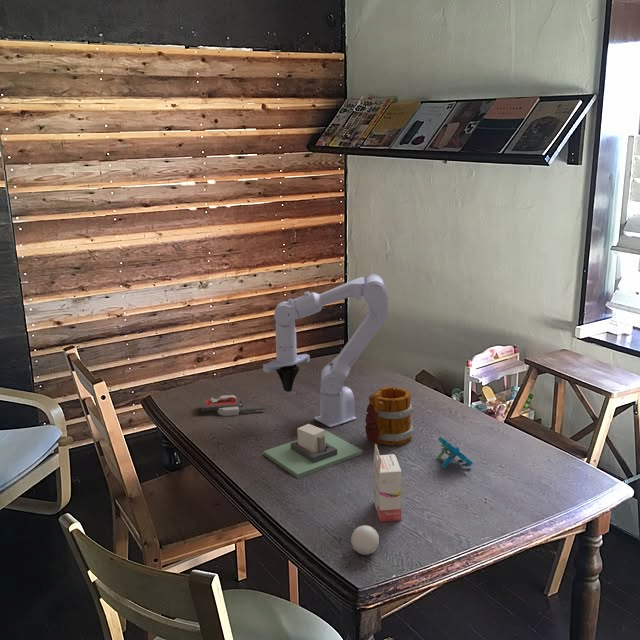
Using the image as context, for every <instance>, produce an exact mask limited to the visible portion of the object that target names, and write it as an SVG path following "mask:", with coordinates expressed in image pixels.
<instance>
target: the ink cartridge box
mask: <svg viewBox="0 0 640 640" xmlns="http://www.w3.org/2000/svg"><path fill="white" fill-rule="evenodd" d="M373 490H374V491H373V503H374V507H375V510H376V512H377V516H378V519H379V522H380V523H381V522H395V521H398V522H399V521H402V469H401V466H400V464H399V461H398V459H397V455H396V454H381V455H380V451H379V449H378V445H377V446H376V444H375V446H374V452H373Z"/></svg>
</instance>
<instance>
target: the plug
mask: <svg viewBox="0 0 640 640" xmlns="http://www.w3.org/2000/svg"><path fill="white" fill-rule="evenodd" d="M325 430H326V429H324V428H320V427H317V426H315V425H313V424H310V423H307V424H304V425H302V426H299V427H297V430H296V433H297V440H298V445H299V446H300V447H302V448H304V449H305V450H307V451H309V452H310V453H312V454H313V453H316V452H317V453H322V452H325V449H326V447H325Z"/></svg>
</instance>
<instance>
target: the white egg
mask: <svg viewBox="0 0 640 640" xmlns="http://www.w3.org/2000/svg"><path fill="white" fill-rule="evenodd" d="M380 540H381V539H380V536H379V533H378V532H377V530H376V529H375V528H374V527H372V526H370V525H367V524H365V525H364V524H363V525H360V526H357V527H356V528H355V529H354V530H353V532H352V534H351V537H350V543H351V546H352V548H353V549H354V551H356V553H359V555H364V556H368V555H371V554H373V553H374V552H376V551H377V550H378V547H379V544H380Z"/></svg>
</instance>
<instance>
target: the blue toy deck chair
mask: <svg viewBox="0 0 640 640" xmlns="http://www.w3.org/2000/svg"><path fill="white" fill-rule="evenodd" d="M438 441H439V443H441V444H440V446H442V447H441V449H440V450H441V451H440V453H439V454H438V456H436V459H437V460H440V459H441V458H442V457H443V455H444V454H445V455H448V457H447V458H446V459H445V461H444V462H443V463H442V464H441V467H442V468H444V469H445V468H447V466H448V465H449V464H450V462H451V461H452V460H454V459H455V458H456V457H458V458H460V459H461V460H462V461H463V462H465V464H467V465H469V466H472V465H473V464H474V462H472V460H471V459H469V458H468V457H467V456H466V455H465V454H463V453H462V452H461V451H460V448H459V447H458V446H453V445H452V444H451V443H449V442H448V441H446V439H444V438H443V437H441V436H440V437H438Z"/></svg>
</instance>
